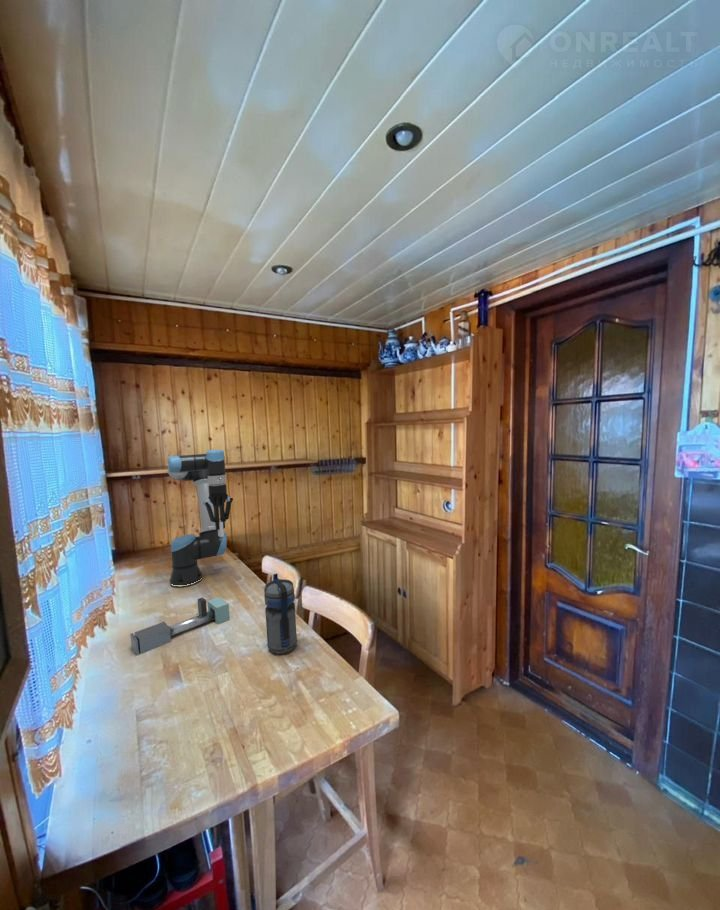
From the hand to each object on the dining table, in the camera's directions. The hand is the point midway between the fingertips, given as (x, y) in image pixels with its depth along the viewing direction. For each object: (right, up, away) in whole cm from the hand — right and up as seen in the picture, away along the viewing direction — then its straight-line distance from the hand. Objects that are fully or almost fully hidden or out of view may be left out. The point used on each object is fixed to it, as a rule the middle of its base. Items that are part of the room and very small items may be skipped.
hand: (221, 536), depth 169 cm
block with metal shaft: (-3, -31, -22) cm, 39 cm away
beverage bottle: (+36, -31, -38) cm, 61 cm away
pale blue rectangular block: (+5, -31, -15) cm, 34 cm away
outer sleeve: (-13, -33, -32) cm, 47 cm away
